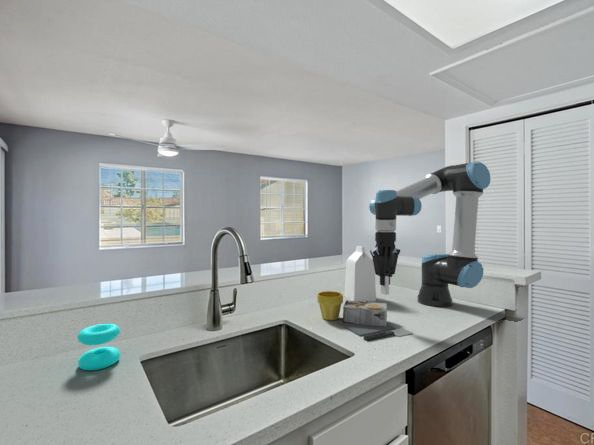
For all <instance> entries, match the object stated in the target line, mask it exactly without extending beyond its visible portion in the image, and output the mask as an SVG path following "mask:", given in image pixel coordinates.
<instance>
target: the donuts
mask: <svg viewBox="0 0 594 445" xmlns="http://www.w3.org/2000/svg"><path fill="white" fill-rule="evenodd" d="M120 331H121V329H120V327H119V326H118V325H117V324H114V323H100V324H93V325H91V326H87V327H85V328H83V329H82V330H81V331H80V332H78V334H77V340H78V342H79V343H81V344H82V345H86V346H98V345H99V347H96V348H91V349H90V350H87V351H86V352H84V353H83V354H81V356H80V357H79V359H78V361H77V365H78V367H79V368H80V369H81V370H84V371H99V370H103V369H105V368H108V367H111V366H113V365H114V364H116V363H117V362H118V361H119V359H120V358H121V353H120V350H119V349H118V348H117V347H114V346H100V345H103V344H107V343H110V342H111V341H113V340H114V339H116V338H117V337H118V336H119V335H120Z"/></svg>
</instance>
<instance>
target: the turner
mask: <svg viewBox="0 0 594 445" xmlns="http://www.w3.org/2000/svg"><path fill="white" fill-rule="evenodd" d="M413 334H414V332H412V331H410V330H408V329H405V328H402V327H401V328H395V329H393V330H388V331H383V332H378V333H374V334H369V335H364V336H363V341H365V342H368V341H369V342H370V341H373V340H378V339H382V338H386V337H387V338H388V337H392V336H396V337H397V338H399V337H403V336H407V335H408V336H409V335H413Z"/></svg>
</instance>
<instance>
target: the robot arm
mask: <svg viewBox="0 0 594 445" xmlns="http://www.w3.org/2000/svg"><path fill="white" fill-rule="evenodd" d="M490 184H491V173H490V170H489V169H488V166H487V165H485V164H484V163H482V162H480V161H475V162H473V161H472V162H471V161H470V162H467V163H460V164H454V165H453V164H452V165H448V166H445V167H442V168H441V169H438V170H435V171H433V172H431V173H429V174H427V175H425V177H424V178H423V179H421V180H419V181H417V182H414V183H412V184H409V185H407V186H405V187H403V188H400V189H399V190H393V189H381V190H380V189H378V191H376V194H375V198H373V199H371V201H370V202H369V205H368V206H369V207H368V209H369V211H370V213H371V214H372V215H374V216H375V225H374V229H375V232H374V233H375V234H374V238H375V239H374V240H375V246H374V249H370V251H369V252H370V255H371V257H372V258H371V259H372V260H373V264H374V269H375V276H378V277H379V285H380V293H381V294H383V295H386V296H387V295H389V294H390V285H391V278H393V275H395V274H396V270H397V269H396V268H397V264H398V259H399V255H400V254H401V249H398V248H397V247H396V244H395V243H396V242H397V233H396V232H395V231H397V217H398V216H399V217H400V216H405V217H407V216H409V217H412V216H417V215H418V214H420V212H421V211H422V205H423V204H422V201H421V199H423V198H424V197H427V196H429V195H436V194H439V193H441V192H451V191H452V194H453V195H454V196H455V198H456V199H455V207H454V208H455V209H454V210H455V211H454V224H453V233H452V234H453V236H452V248H451V249H452V250H451V251H450V252H449V253H439V254H438V253H432V254H425V255H423V256H422V259H421V286H420V289H419V291H418V294H417V302H418V303H419V304H423V305H427V306H431V307H440V308H441V307H443V308H445V307H450V306H452V305H453V298H452V296H451V292H450V290H449V285H452V286H456V287H459V288H465V289H473V288H475V287H477V286H478V285H479V284H480V282H481V281H482V280H483V276H484V267H483V265H482V263H481V262H479V257H478V255H476V254H475V249H476V247H475V246H476V234H477V221H478V208H479V198H480V197H481V196H483V195H484V190H485V189H487V188H489V185H490Z"/></svg>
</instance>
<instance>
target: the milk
mask: <svg viewBox="0 0 594 445" xmlns="http://www.w3.org/2000/svg"><path fill="white" fill-rule="evenodd" d="M376 290H377V289H376V274H375V269H374V264H373V258H371V257H370V256H369V254H368V253H366V250H365V247H364V246H361V245H356V247H355V251H354V252H353V253H352V254H351V255H349V257H348V258H347V259H346V262H345V280H344V294H343V296H344V295H345V296H346V297H345V296H344V297H345V298H347V297H348V298H349V299H348V298H347V299H348V300H349V301H351V300H352V301H361V302H364V301H368V302H377V292H376Z"/></svg>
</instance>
